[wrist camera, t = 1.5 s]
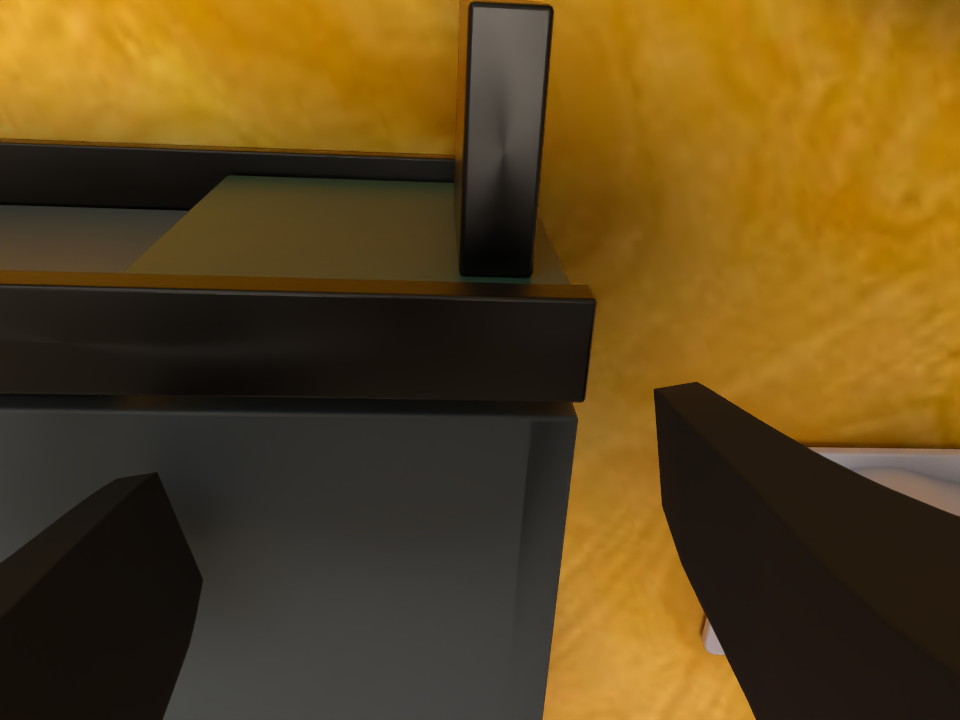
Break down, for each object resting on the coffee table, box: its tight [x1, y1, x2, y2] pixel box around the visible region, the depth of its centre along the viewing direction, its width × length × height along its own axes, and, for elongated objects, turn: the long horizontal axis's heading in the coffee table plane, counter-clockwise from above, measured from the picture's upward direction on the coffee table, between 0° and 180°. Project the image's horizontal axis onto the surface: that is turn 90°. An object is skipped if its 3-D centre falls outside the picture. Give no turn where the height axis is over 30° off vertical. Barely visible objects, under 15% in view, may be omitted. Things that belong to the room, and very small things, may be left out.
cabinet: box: [0, 139, 597, 720], centre depth 16 cm, size 14×10×9 cm
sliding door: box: [122, 0, 570, 285], centre depth 14 cm, size 7×5×8 cm, turn 87°
